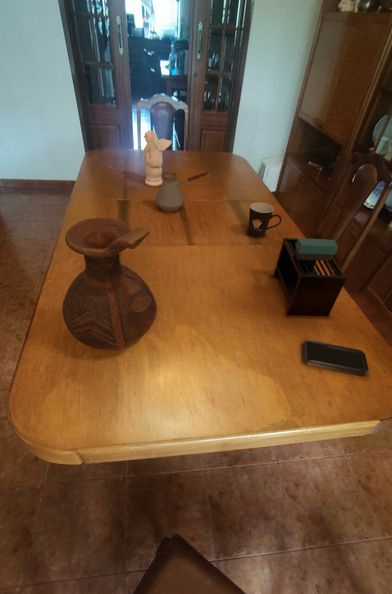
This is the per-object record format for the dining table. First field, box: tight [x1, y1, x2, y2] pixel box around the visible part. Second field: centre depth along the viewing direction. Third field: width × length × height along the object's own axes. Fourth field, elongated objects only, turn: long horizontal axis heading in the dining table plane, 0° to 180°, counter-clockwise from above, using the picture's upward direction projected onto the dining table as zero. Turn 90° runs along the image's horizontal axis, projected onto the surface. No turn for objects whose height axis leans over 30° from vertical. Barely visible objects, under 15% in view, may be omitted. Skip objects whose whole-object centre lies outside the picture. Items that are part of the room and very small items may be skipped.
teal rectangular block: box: [295, 237, 339, 262], centre depth 86 cm, size 10×4×4 cm, turn 92°
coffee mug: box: [247, 202, 282, 239], centre depth 118 cm, size 12×9×10 cm
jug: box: [61, 217, 158, 351], centre depth 70 cm, size 22×22×30 cm
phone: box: [302, 339, 369, 377], centre depth 78 cm, size 8×1×15 cm
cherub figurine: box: [143, 130, 172, 187], centre depth 143 cm, size 12×12×22 cm
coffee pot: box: [155, 171, 210, 213], centre depth 128 cm, size 21×12×15 cm, turn 87°
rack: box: [272, 237, 348, 317], centre depth 92 cm, size 12×20×13 cm, turn 2°
